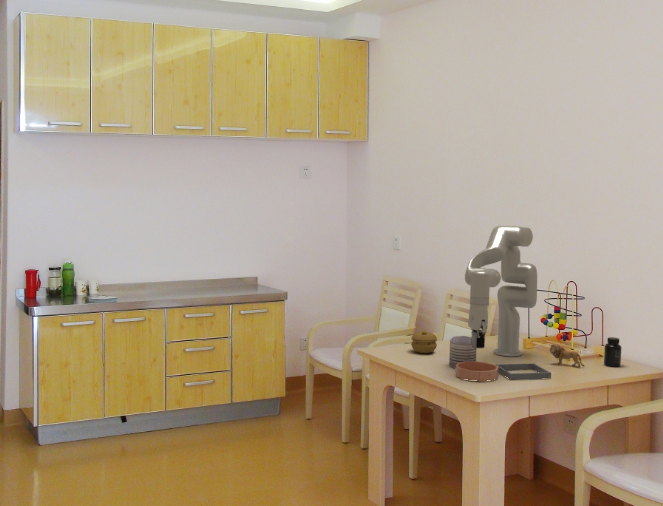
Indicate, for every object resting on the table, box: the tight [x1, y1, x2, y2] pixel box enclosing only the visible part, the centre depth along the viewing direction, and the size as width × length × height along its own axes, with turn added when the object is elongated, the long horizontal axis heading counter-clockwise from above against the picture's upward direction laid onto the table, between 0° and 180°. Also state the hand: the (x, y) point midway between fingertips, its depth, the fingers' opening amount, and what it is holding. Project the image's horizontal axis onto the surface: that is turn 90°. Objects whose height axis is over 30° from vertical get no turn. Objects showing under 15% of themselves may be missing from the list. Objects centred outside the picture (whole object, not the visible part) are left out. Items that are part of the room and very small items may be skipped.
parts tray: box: [494, 362, 552, 380], centre depth 307 cm, size 16×18×2 cm
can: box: [448, 335, 478, 369], centre depth 319 cm, size 11×11×12 cm
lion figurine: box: [549, 343, 585, 369], centre depth 323 cm, size 15×5×9 cm, turn 69°
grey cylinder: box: [471, 331, 481, 349], centre depth 301 cm, size 5×5×6 cm
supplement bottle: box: [603, 336, 622, 368], centre depth 324 cm, size 7×7×12 cm
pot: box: [410, 330, 438, 354], centre depth 344 cm, size 12×12×10 cm
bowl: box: [455, 360, 500, 381], centre depth 303 cm, size 17×17×4 cm
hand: (477, 345), depth 302 cm, fingers closed on grey cylinder, 5 cm apart
